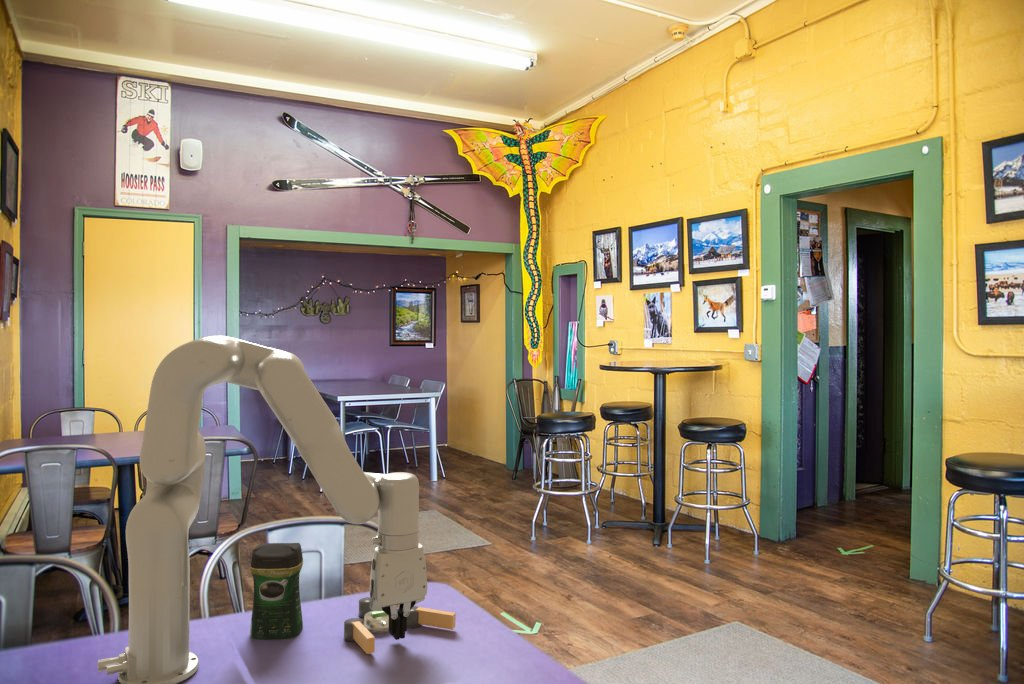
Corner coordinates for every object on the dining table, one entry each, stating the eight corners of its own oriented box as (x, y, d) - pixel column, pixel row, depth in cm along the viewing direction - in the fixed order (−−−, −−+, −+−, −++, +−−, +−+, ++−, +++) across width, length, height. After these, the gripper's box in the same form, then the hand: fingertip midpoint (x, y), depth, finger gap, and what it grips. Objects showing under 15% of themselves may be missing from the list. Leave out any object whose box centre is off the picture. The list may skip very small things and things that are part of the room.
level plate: (350, 663, 130) (351, 638, 130) (320, 626, 146) (320, 604, 145) (440, 641, 140) (440, 618, 140) (403, 609, 155) (403, 588, 155)
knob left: (341, 635, 138) (341, 618, 138) (359, 631, 140) (359, 614, 140) (361, 658, 129) (361, 640, 129) (380, 654, 131) (380, 635, 131)
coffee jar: (306, 629, 144) (307, 537, 144) (297, 647, 136) (298, 550, 136) (256, 630, 144) (257, 537, 143) (244, 648, 136) (246, 550, 135)
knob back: (362, 619, 146) (362, 603, 146) (356, 613, 149) (356, 597, 149) (411, 609, 151) (411, 593, 151) (404, 603, 154) (404, 588, 154)
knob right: (400, 626, 143) (400, 609, 143) (408, 619, 146) (408, 603, 146) (450, 635, 139) (450, 617, 139) (457, 627, 143) (457, 610, 143)
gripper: (367, 551, 128) (366, 653, 128) (443, 539, 136) (442, 635, 136) (352, 540, 134) (352, 637, 135) (426, 529, 142) (425, 620, 143)
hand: (397, 636), depth 135 cm, fingers closed
